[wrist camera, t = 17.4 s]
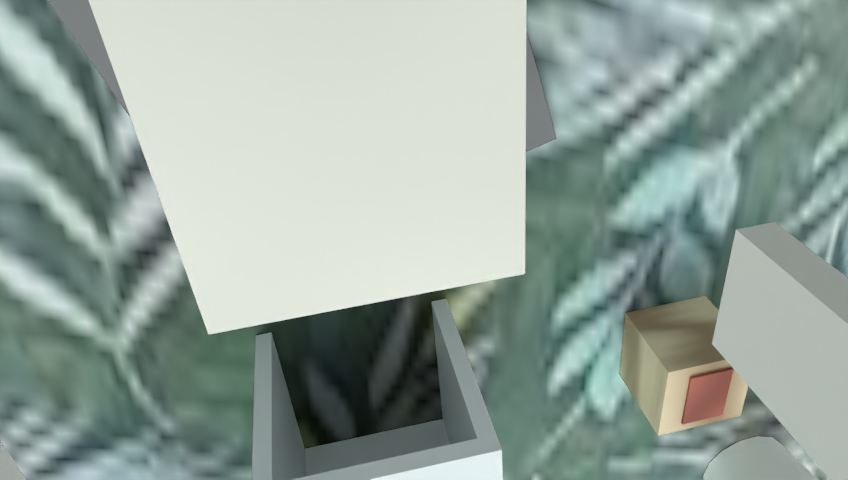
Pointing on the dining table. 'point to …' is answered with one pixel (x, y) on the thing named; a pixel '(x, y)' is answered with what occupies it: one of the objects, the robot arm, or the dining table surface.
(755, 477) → the foam cup
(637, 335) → the tan block
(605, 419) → the dining table surface
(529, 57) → the charcoal mat
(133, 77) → the box
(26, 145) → the dining table surface
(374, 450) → the panel
